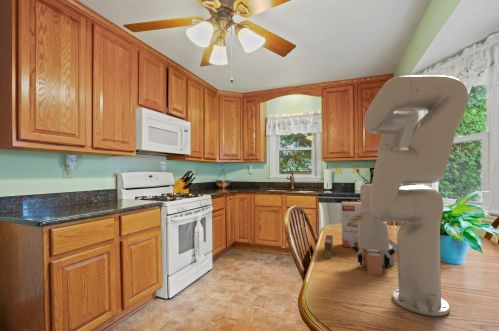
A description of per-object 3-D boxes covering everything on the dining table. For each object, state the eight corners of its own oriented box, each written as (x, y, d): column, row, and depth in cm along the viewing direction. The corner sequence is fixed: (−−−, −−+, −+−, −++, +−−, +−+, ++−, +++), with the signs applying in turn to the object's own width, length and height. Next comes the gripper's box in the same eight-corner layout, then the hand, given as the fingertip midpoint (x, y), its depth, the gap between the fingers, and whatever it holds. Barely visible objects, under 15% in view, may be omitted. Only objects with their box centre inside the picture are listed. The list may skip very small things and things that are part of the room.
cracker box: (342, 247, 116) (341, 202, 117) (341, 243, 122) (340, 201, 122) (375, 249, 112) (374, 203, 112) (373, 245, 118) (372, 201, 118)
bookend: (331, 258, 101) (330, 242, 101) (324, 258, 102) (324, 242, 102) (332, 249, 112) (332, 235, 113) (327, 249, 113) (326, 235, 113)
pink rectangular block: (382, 275, 85) (381, 256, 85) (368, 273, 86) (367, 254, 86) (378, 265, 94) (378, 247, 94) (365, 263, 96) (365, 246, 96)
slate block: (394, 265, 93) (393, 249, 93) (370, 262, 96) (370, 247, 96) (388, 255, 104) (388, 241, 104) (367, 253, 107) (367, 239, 107)
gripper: (346, 218, 90) (347, 266, 90) (401, 220, 84) (403, 273, 84) (346, 214, 97) (347, 259, 97) (397, 216, 91) (398, 265, 91)
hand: (373, 265), depth 90 cm, fingers open, 7 cm apart
